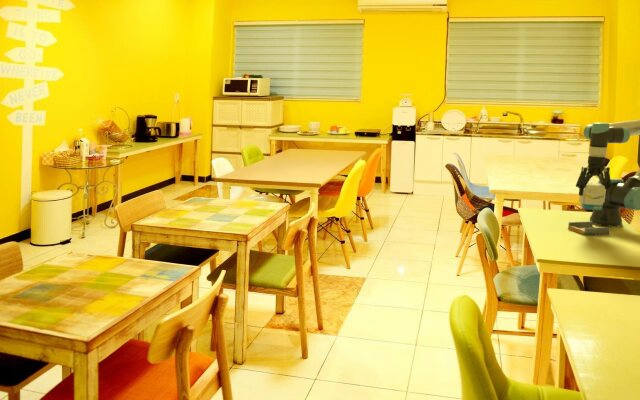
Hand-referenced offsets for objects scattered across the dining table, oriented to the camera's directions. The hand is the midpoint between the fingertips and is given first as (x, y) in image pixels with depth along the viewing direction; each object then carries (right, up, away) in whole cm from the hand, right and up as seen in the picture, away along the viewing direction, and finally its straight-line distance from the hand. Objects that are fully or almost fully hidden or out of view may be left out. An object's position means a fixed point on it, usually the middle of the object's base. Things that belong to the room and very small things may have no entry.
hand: (591, 202), depth 297 cm
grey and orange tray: (0, -14, +3) cm, 15 cm away
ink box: (0, -3, +1) cm, 3 cm away
